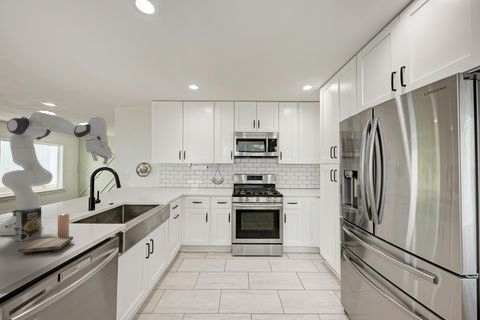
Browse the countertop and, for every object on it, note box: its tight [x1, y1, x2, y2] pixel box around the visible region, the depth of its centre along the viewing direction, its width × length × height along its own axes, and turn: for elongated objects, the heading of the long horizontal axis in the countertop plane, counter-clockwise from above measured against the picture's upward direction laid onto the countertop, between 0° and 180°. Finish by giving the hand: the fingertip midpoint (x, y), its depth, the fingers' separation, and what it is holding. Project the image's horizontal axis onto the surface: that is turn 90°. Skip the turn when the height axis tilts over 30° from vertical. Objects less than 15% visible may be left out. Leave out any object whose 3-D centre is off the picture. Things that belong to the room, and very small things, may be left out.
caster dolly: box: [17, 236, 74, 256], centre depth 108 cm, size 16×14×4 cm
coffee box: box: [14, 208, 42, 242], centre depth 124 cm, size 9×6×16 cm
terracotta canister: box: [57, 213, 70, 238], centre depth 123 cm, size 5×5×14 cm
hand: (100, 162), depth 131 cm, fingers open, 8 cm apart
